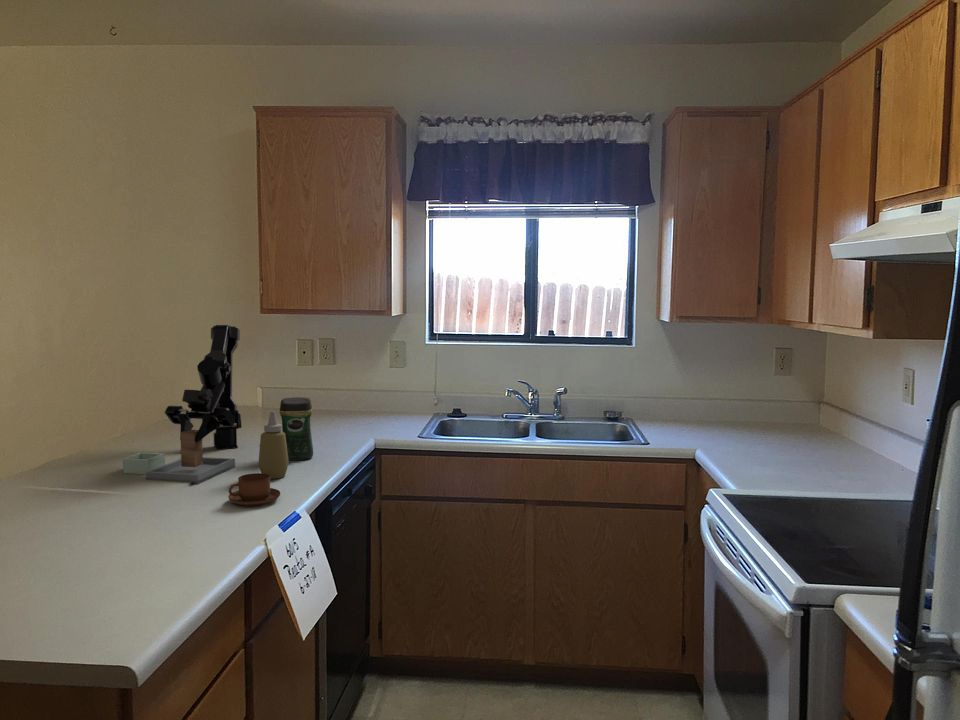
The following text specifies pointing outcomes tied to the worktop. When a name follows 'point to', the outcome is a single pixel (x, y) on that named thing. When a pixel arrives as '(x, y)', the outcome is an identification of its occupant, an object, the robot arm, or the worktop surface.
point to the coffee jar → (297, 427)
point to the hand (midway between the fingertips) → (188, 441)
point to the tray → (192, 470)
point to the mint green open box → (143, 462)
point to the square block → (191, 449)
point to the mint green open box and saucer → (253, 490)
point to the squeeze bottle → (273, 449)
